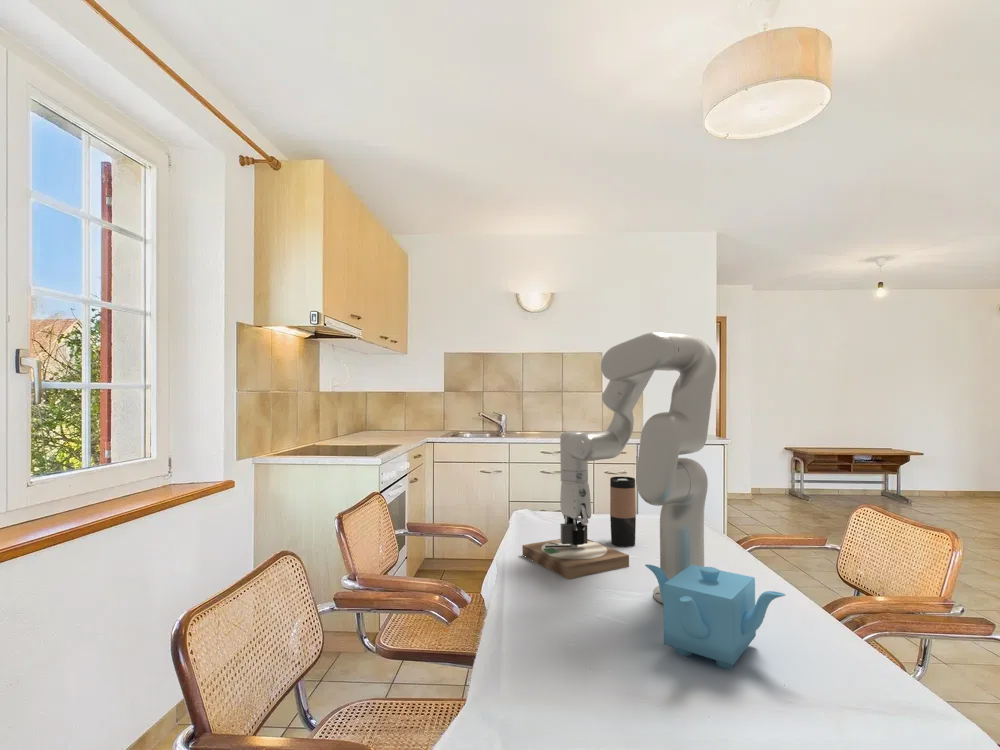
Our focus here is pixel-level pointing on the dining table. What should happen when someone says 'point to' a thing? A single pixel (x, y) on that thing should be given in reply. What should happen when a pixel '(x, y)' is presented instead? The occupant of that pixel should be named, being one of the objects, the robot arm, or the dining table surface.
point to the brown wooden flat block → (575, 558)
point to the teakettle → (711, 612)
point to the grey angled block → (568, 536)
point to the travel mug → (622, 511)
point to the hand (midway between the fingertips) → (574, 541)
